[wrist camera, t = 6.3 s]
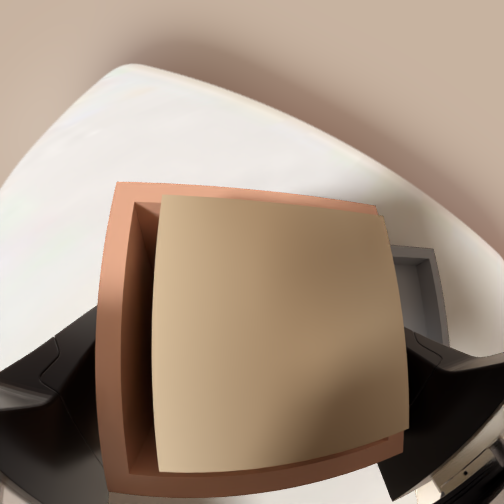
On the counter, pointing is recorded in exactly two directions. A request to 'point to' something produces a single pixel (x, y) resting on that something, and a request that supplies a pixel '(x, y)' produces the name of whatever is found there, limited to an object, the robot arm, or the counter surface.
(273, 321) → the block top
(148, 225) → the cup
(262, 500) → the counter surface
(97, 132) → the counter surface
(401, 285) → the tray
